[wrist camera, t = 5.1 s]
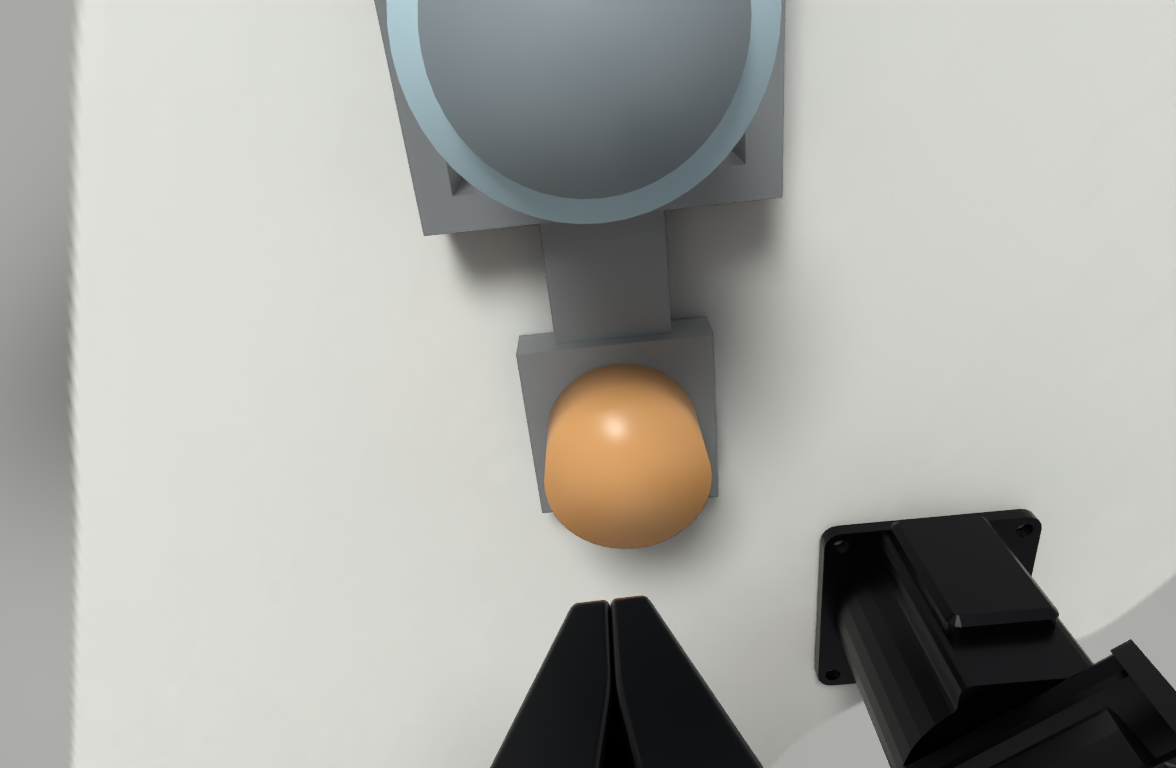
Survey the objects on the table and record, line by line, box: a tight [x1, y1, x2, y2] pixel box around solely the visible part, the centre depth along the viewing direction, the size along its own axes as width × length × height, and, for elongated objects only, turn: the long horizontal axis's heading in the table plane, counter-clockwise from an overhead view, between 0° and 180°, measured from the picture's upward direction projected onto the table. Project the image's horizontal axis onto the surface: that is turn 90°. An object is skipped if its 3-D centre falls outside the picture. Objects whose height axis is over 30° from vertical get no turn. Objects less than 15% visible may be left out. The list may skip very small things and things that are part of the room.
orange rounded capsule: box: [544, 364, 712, 549], centre depth 20 cm, size 4×4×4 cm
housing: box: [374, 0, 785, 513], centre depth 16 cm, size 25×8×2 cm, turn 6°
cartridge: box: [386, 0, 782, 224], centre depth 13 cm, size 5×5×9 cm
